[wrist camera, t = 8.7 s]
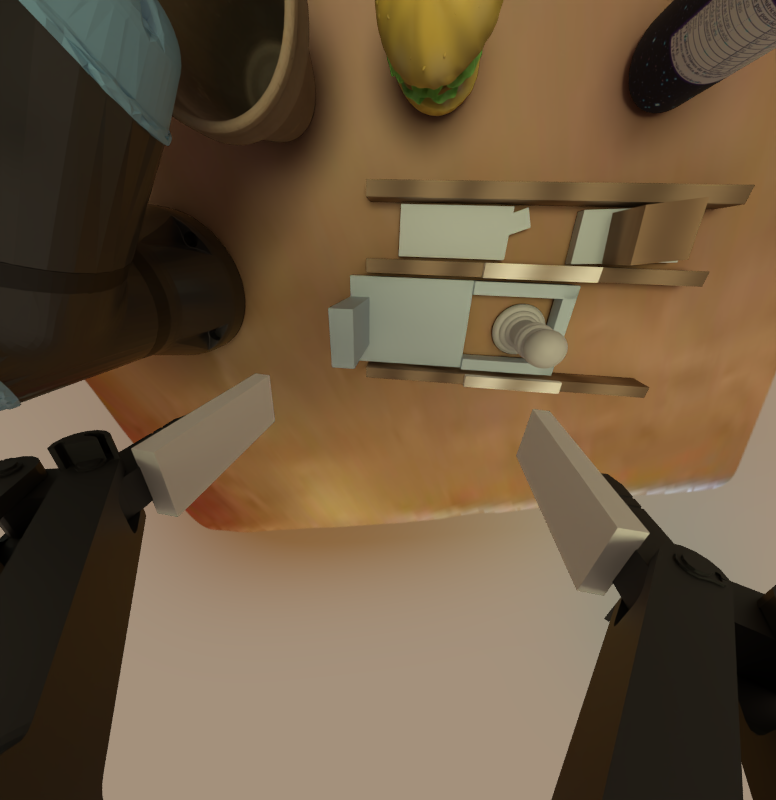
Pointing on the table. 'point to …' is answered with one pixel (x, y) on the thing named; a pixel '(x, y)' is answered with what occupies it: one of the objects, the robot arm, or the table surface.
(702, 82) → the beverage can
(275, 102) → the flower pot
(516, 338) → the chess piece
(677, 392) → the table surface
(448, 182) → the lane rails
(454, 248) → the broken strip
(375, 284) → the pale grey slab
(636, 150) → the table surface
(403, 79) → the hamburger
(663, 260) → the walnut cube
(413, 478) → the table surface
